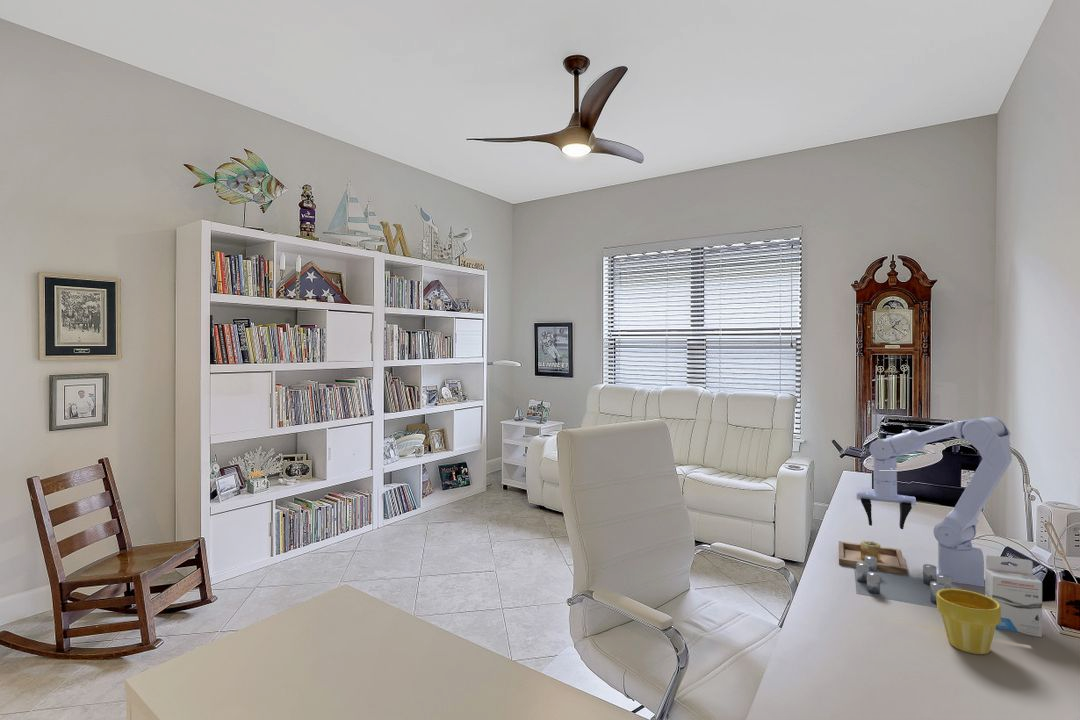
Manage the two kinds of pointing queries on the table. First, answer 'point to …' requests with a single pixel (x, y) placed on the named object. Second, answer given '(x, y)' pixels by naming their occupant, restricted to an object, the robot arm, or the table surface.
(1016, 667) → the table surface
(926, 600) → the mat
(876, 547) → the nut
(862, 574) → the spacers
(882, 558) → the tray
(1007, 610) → the ink box
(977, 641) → the plant pot
